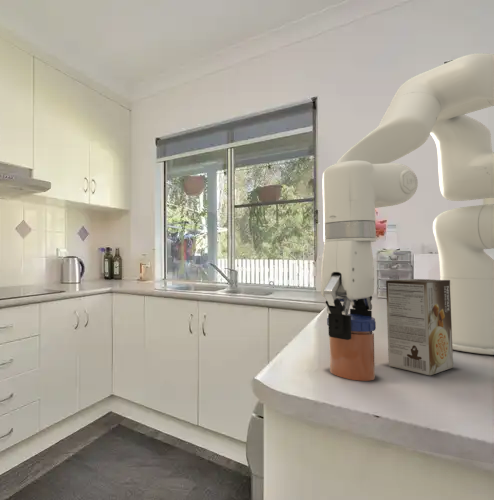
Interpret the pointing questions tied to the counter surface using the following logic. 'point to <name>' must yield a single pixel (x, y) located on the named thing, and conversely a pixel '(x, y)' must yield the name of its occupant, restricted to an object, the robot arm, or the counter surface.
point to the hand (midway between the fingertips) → (350, 334)
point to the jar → (353, 356)
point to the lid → (362, 323)
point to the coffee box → (419, 325)
